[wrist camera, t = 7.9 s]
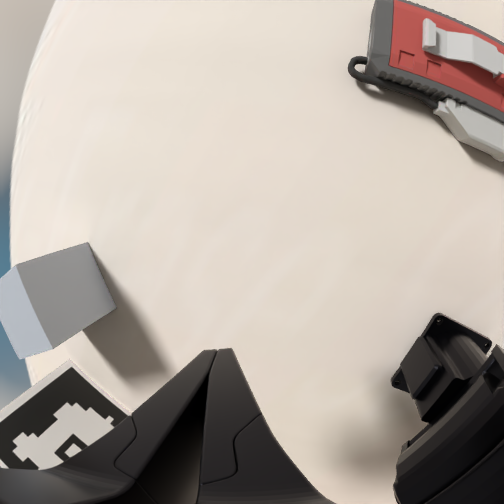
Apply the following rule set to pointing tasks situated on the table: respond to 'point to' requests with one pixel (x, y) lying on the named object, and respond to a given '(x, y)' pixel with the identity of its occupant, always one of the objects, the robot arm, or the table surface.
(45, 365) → the table surface
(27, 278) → the slate block
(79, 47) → the table surface
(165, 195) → the table surface
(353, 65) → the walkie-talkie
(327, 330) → the table surface
